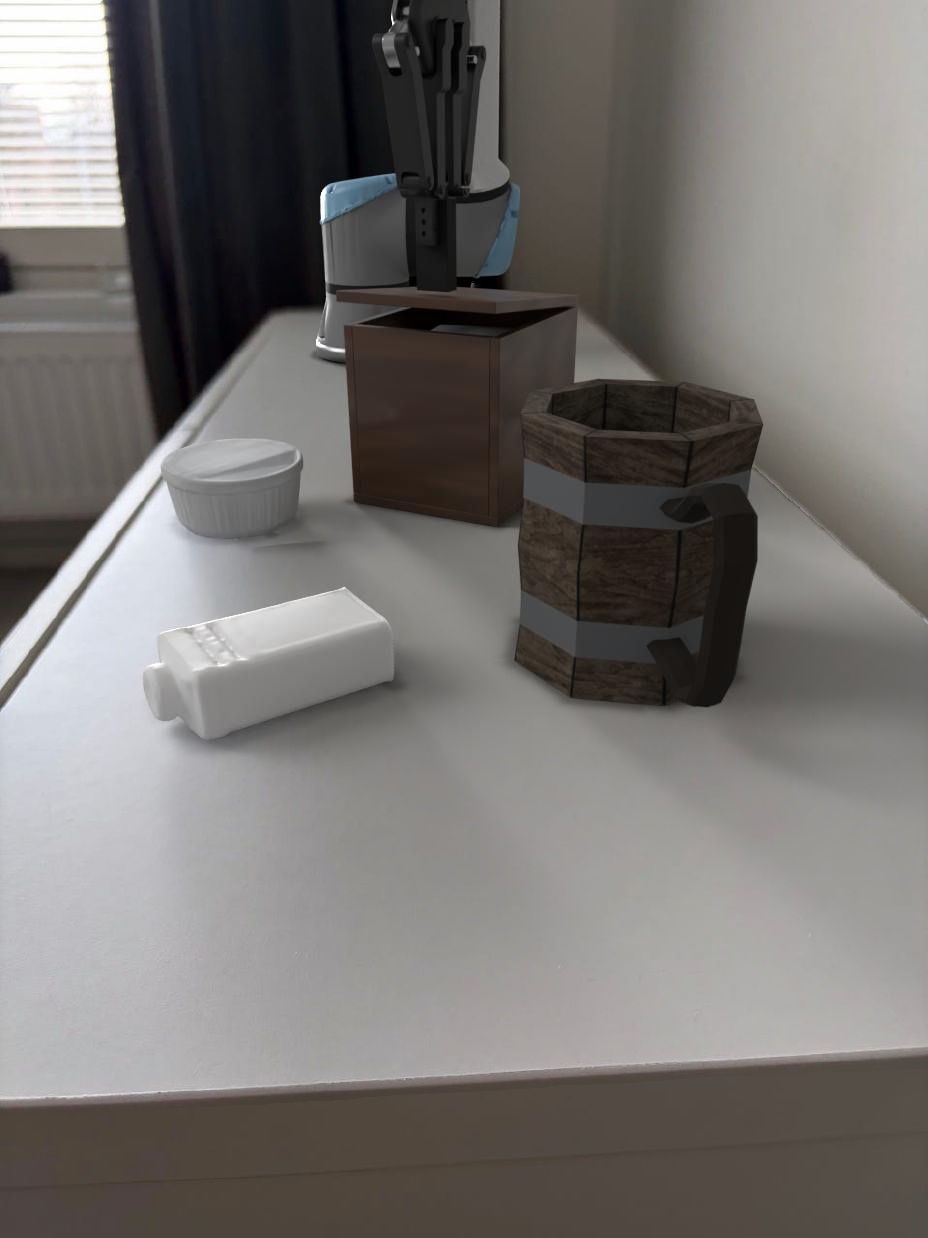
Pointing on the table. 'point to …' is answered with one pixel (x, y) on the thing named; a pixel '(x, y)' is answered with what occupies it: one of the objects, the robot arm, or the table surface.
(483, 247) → the robot arm
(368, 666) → the white bottle
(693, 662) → the mug
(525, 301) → the lid
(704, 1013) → the table surface
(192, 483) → the ramekin
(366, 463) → the chest
